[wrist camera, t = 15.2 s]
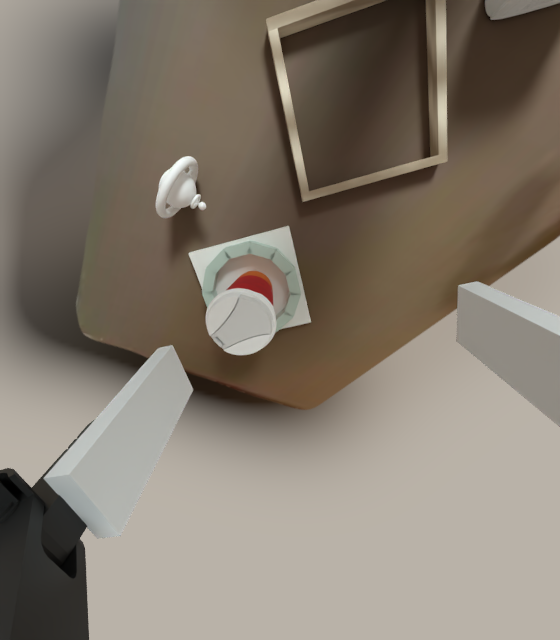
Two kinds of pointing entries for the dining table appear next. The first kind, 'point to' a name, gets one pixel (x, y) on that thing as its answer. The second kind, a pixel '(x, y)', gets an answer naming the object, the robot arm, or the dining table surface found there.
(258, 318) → the paper cup
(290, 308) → the cup holder
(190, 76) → the dining table surface
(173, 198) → the ring around a ball
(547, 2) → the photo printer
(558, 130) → the dining table surface
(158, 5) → the dining table surface
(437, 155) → the tray frame
